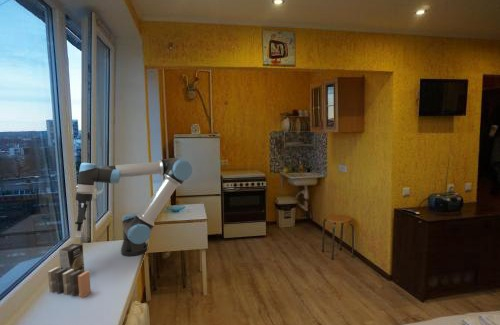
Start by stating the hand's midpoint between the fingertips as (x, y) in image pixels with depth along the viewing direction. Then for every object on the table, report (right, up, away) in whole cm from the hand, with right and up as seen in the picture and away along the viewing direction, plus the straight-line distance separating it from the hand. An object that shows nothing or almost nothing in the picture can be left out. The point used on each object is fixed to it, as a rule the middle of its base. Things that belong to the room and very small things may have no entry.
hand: (79, 234), depth 159 cm
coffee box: (-2, -22, -1) cm, 22 cm away
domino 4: (+8, -23, -16) cm, 29 cm away
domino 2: (0, -23, -13) cm, 27 cm away
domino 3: (+4, -23, -14) cm, 27 cm away
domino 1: (-4, -23, -12) cm, 26 cm away
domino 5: (+12, -23, -17) cm, 31 cm away
